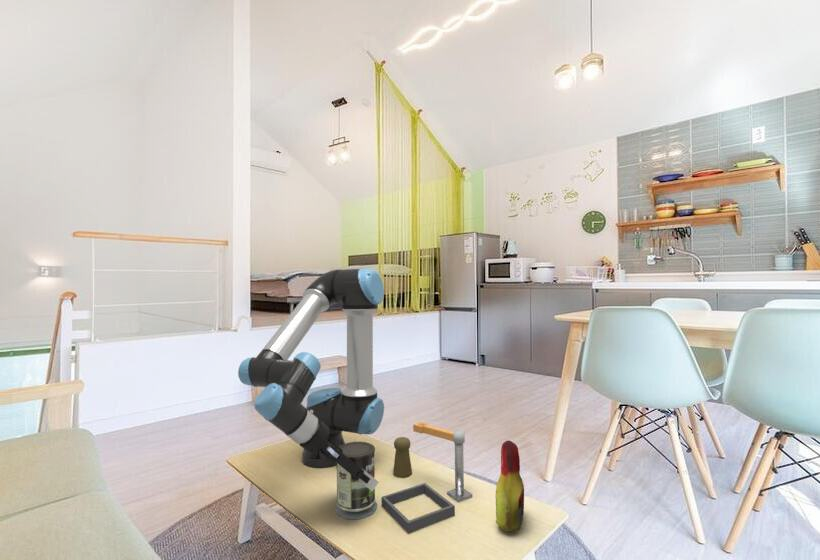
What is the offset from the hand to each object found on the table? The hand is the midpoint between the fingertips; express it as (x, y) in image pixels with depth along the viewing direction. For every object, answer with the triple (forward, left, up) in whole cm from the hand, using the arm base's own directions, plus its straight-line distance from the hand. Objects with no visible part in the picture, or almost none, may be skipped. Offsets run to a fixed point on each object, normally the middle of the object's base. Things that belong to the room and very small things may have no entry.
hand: (366, 477), depth 110 cm
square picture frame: (+10, +10, -7) cm, 16 cm away
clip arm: (+4, +22, +8) cm, 23 cm away
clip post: (+10, +24, -7) cm, 27 cm away
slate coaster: (0, -3, -7) cm, 8 cm away
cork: (-10, +17, -7) cm, 21 cm away
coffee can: (0, -3, -6) cm, 6 cm away
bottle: (+27, +27, -7) cm, 39 cm away
